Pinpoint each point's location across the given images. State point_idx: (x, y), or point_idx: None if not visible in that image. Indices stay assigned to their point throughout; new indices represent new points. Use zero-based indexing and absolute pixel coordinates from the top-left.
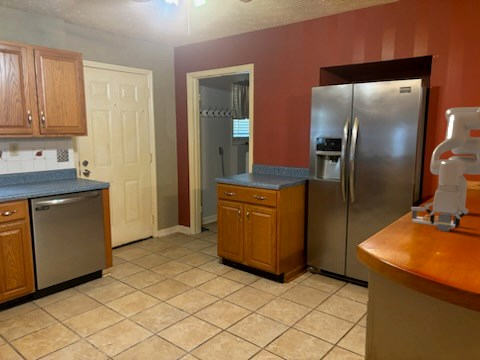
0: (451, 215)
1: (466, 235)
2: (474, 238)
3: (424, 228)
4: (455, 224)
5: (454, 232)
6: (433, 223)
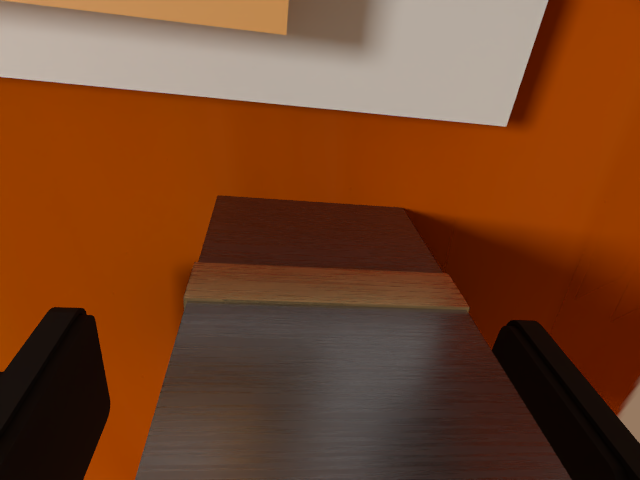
0: (539, 465)
1: None
2: None
3: None
4: None
5: None
6: (42, 79)
